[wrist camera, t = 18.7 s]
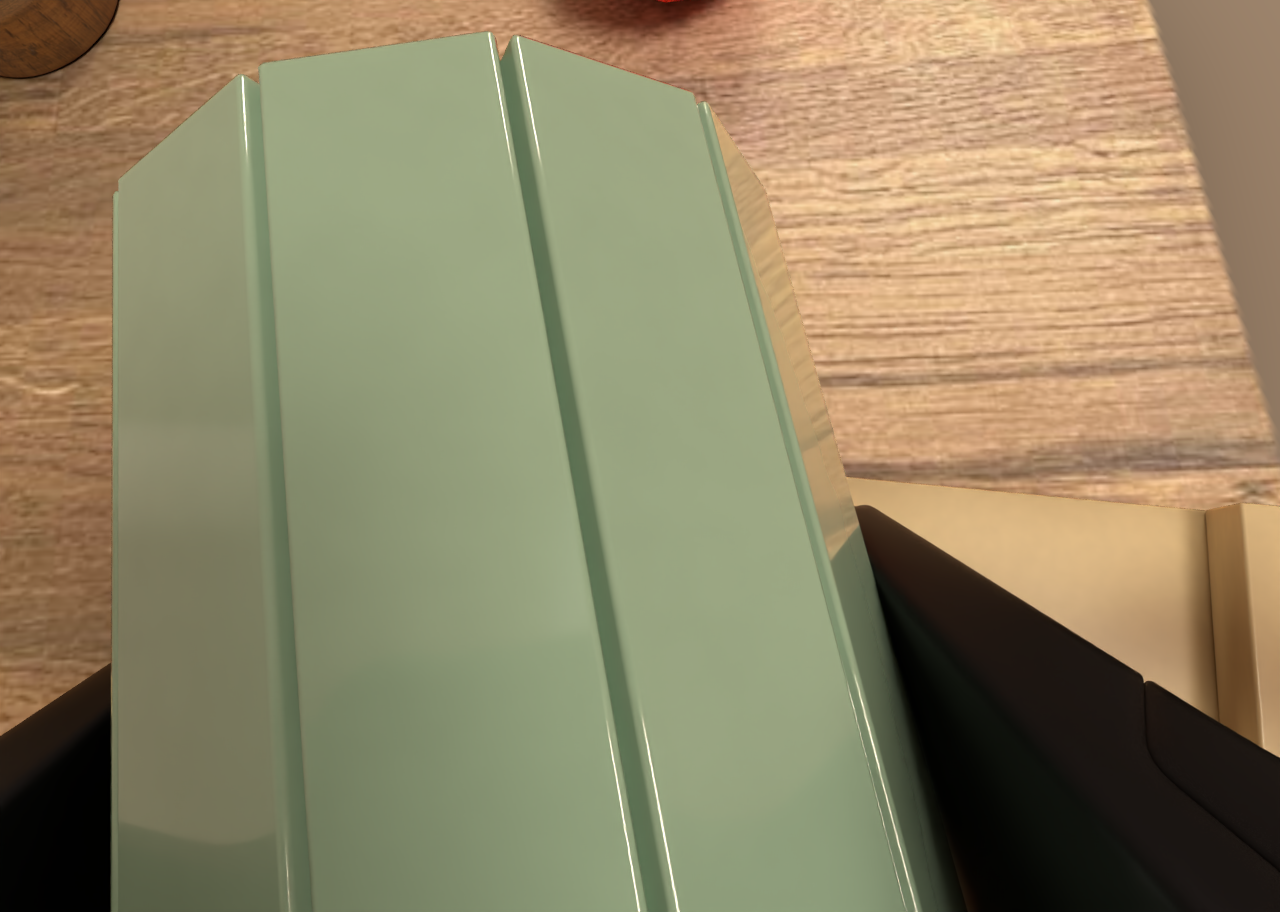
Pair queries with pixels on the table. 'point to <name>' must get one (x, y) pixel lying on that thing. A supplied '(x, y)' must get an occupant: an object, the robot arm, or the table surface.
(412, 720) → the grooved sage-green cylinder
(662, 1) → the apple
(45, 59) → the mortar and pestle
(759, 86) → the table surface
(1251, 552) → the wooden block
